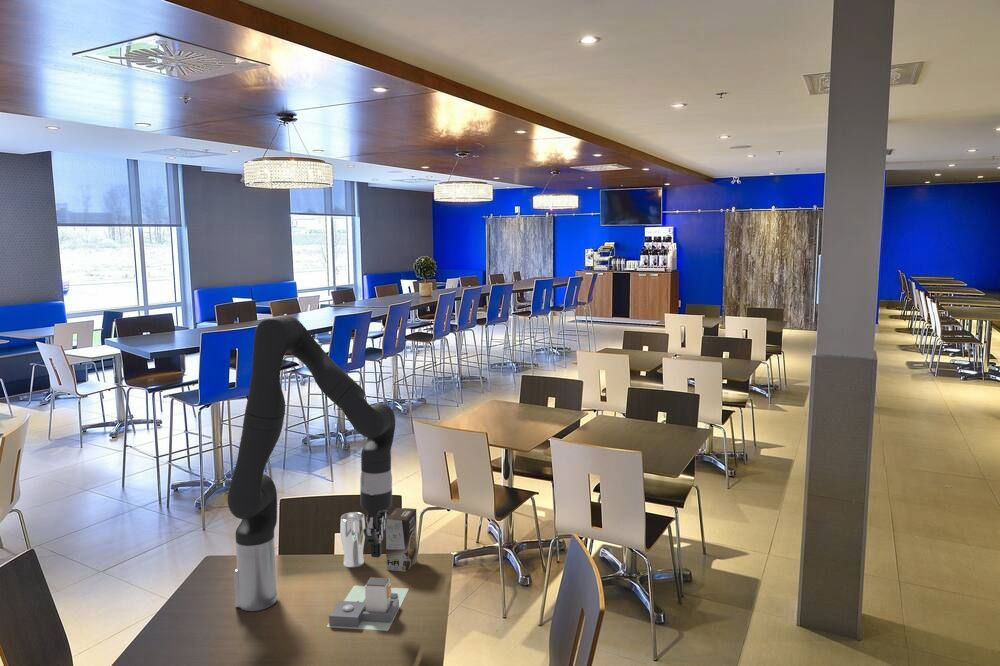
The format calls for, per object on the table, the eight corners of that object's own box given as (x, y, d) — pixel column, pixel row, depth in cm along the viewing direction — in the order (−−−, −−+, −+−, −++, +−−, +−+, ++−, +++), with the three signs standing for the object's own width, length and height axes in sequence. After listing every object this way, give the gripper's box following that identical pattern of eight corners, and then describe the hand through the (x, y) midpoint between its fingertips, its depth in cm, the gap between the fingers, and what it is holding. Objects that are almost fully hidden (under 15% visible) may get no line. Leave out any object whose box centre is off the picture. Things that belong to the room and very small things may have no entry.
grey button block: (329, 625, 158) (328, 614, 157) (344, 602, 168) (344, 591, 168) (357, 627, 157) (357, 615, 157) (371, 604, 168) (371, 593, 167)
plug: (366, 617, 161) (365, 584, 161) (371, 608, 165) (370, 576, 164) (388, 618, 161) (387, 586, 160) (392, 609, 165) (392, 578, 164)
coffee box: (407, 576, 185) (406, 520, 183) (385, 573, 186) (384, 518, 184) (418, 561, 194) (417, 508, 192) (397, 559, 195) (396, 506, 193)
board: (326, 631, 158) (326, 618, 157) (354, 589, 177) (353, 578, 177) (388, 635, 156) (387, 622, 156) (409, 592, 176) (408, 581, 175)
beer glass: (354, 558, 195) (353, 509, 194) (371, 565, 191) (370, 515, 190) (336, 567, 190) (334, 517, 188) (352, 574, 186) (351, 523, 184)
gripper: (369, 477, 166) (369, 543, 168) (351, 496, 153) (352, 567, 155) (398, 479, 165) (398, 545, 168) (383, 498, 152) (383, 569, 154)
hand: (376, 556), depth 161 cm, fingers closed
